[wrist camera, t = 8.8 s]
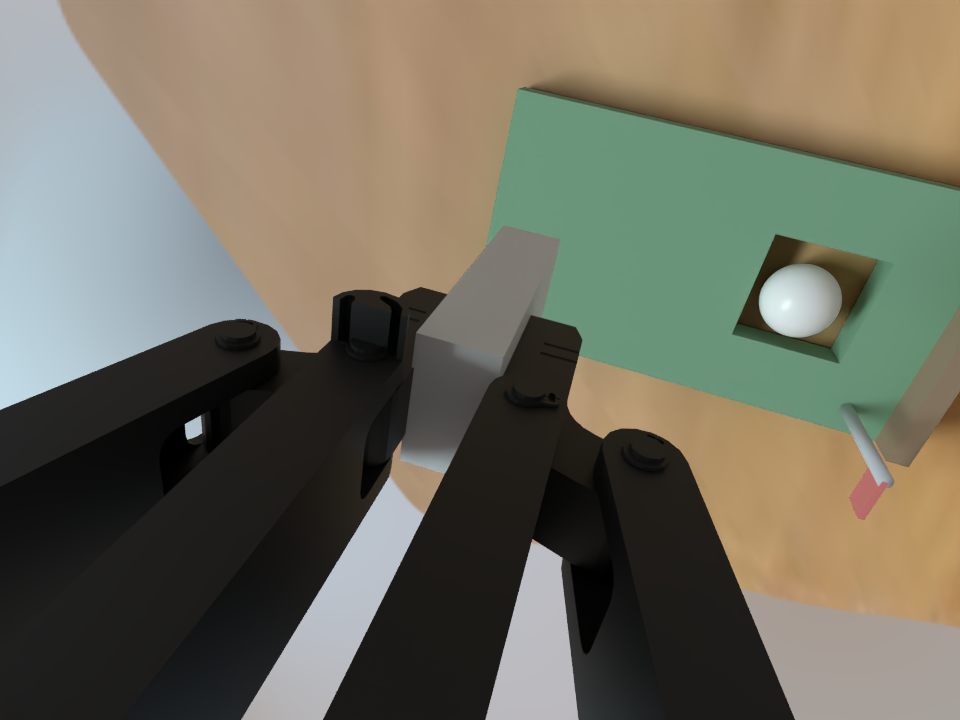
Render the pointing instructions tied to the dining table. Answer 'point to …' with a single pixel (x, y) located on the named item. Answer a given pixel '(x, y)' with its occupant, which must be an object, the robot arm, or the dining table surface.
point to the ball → (800, 300)
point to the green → (740, 267)
